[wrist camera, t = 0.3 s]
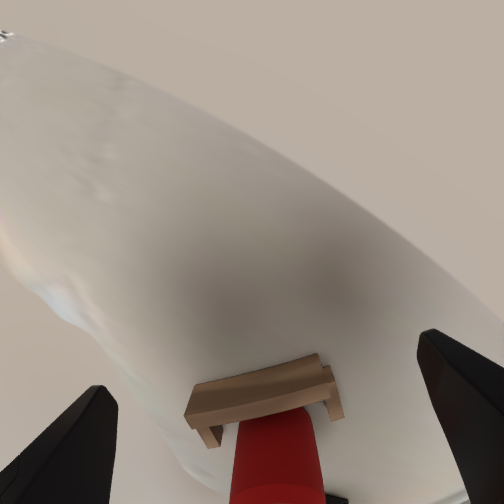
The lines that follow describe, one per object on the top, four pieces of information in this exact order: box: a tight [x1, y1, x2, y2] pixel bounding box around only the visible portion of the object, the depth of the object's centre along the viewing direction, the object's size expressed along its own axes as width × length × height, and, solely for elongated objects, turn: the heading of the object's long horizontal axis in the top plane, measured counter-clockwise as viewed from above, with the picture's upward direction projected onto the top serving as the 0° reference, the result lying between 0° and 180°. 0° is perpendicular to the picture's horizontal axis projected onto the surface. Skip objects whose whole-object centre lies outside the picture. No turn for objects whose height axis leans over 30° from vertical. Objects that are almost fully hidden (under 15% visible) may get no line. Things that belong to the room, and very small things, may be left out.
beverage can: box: [229, 407, 326, 504], centre depth 20 cm, size 7×7×12 cm
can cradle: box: [184, 353, 345, 449], centre depth 24 cm, size 6×12×4 cm, turn 108°
